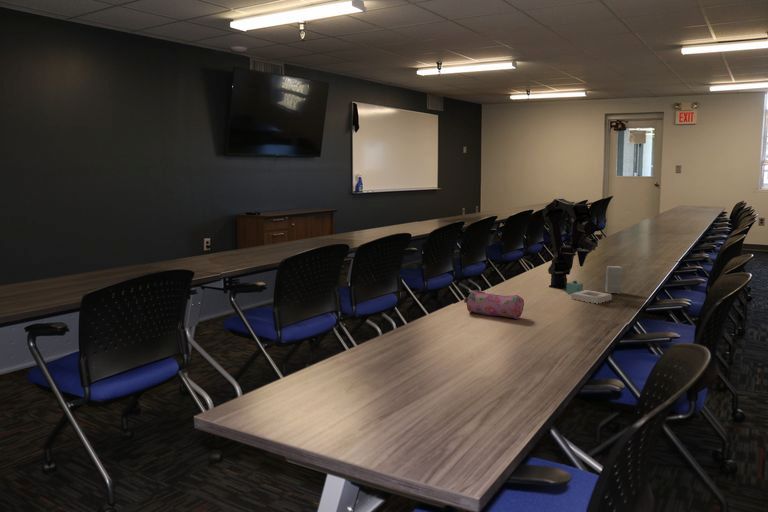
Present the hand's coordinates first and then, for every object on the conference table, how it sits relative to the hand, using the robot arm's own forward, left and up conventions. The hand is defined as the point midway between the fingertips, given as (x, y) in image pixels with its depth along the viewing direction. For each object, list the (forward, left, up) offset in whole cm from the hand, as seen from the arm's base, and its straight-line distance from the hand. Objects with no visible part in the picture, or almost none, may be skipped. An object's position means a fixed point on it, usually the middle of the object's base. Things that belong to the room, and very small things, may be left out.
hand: (575, 267), depth 269 cm
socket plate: (+11, -5, -12) cm, 17 cm away
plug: (0, 0, -12) cm, 12 cm away
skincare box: (+10, +16, -12) cm, 22 cm away
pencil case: (+1, -59, -12) cm, 61 cm away
